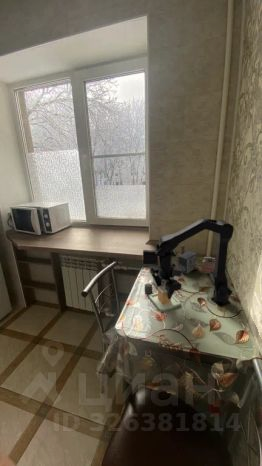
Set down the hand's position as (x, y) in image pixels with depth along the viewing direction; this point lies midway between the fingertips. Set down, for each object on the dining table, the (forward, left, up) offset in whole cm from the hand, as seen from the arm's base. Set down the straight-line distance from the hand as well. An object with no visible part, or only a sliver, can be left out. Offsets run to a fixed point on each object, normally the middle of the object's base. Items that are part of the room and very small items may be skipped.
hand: (164, 293), depth 100 cm
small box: (+21, -29, -5) cm, 36 cm away
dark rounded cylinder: (+10, +3, -5) cm, 11 cm away
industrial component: (+32, -32, -5) cm, 45 cm away
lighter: (+13, -39, -5) cm, 41 cm away
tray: (0, 0, -5) cm, 5 cm away
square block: (0, 0, -4) cm, 4 cm away
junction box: (+13, -9, -5) cm, 17 cm away
